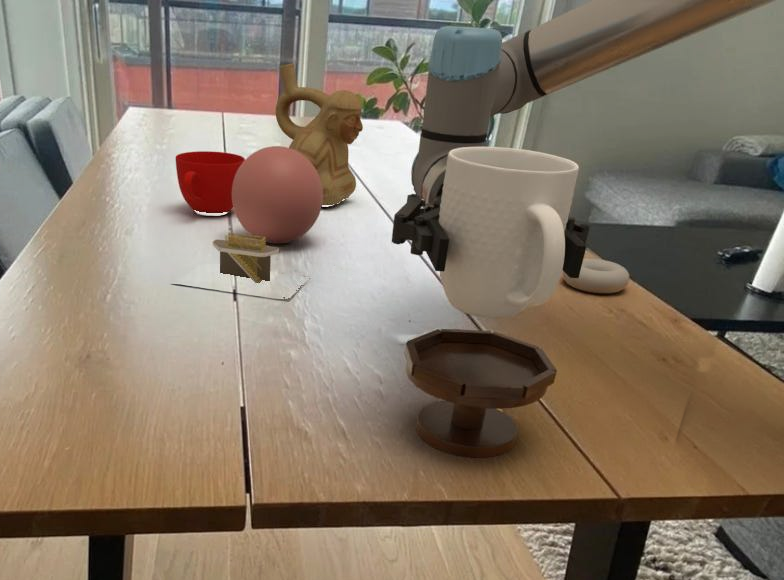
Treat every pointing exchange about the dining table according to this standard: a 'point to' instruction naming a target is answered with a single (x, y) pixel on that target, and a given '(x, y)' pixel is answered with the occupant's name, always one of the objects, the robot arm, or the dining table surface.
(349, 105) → the ceramic vessel
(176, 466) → the dining table surface
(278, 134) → the dining table surface
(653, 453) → the dining table surface
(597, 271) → the donut
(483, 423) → the cake stand
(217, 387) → the dining table surface
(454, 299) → the mug
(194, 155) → the ceramic cup
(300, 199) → the pink ball
